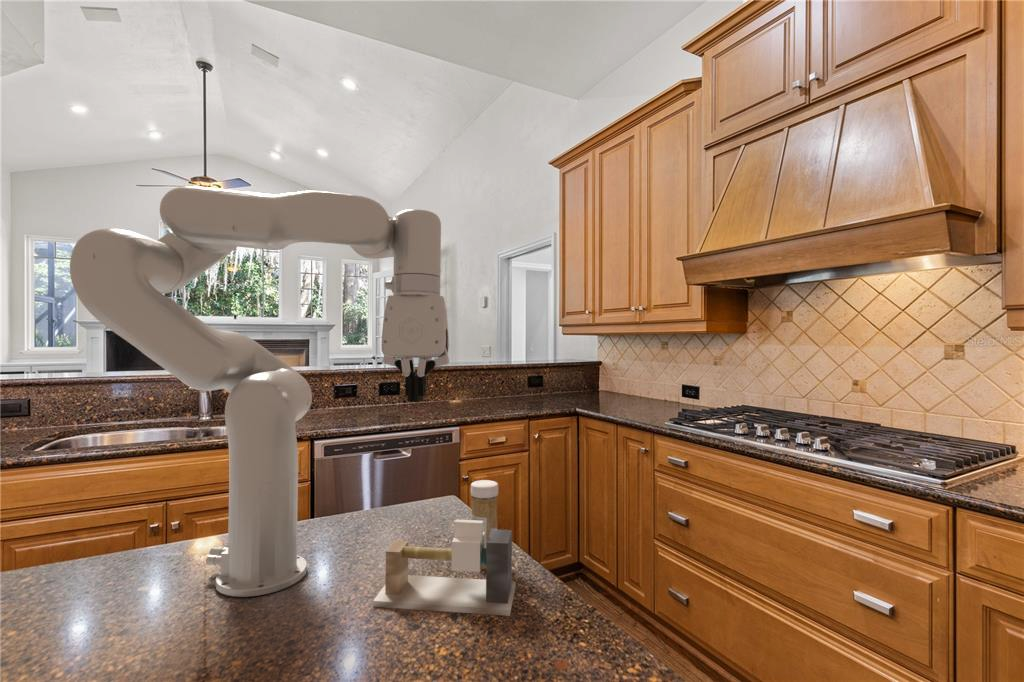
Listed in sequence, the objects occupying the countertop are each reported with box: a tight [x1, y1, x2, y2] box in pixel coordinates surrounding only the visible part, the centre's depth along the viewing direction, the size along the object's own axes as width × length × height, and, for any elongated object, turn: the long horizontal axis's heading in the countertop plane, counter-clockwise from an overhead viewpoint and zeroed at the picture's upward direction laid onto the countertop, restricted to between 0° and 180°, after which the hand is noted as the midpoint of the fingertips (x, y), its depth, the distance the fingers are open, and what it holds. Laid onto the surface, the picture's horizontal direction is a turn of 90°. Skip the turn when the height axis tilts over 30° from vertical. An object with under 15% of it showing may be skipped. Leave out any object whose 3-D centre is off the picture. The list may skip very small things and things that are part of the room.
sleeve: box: [451, 518, 485, 573], centre depth 70 cm, size 4×4×6 cm
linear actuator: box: [372, 528, 517, 617], centre depth 71 cm, size 19×8×9 cm, turn 84°
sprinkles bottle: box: [470, 479, 499, 570], centre depth 81 cm, size 5×5×14 cm
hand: (415, 400), depth 80 cm, fingers closed
